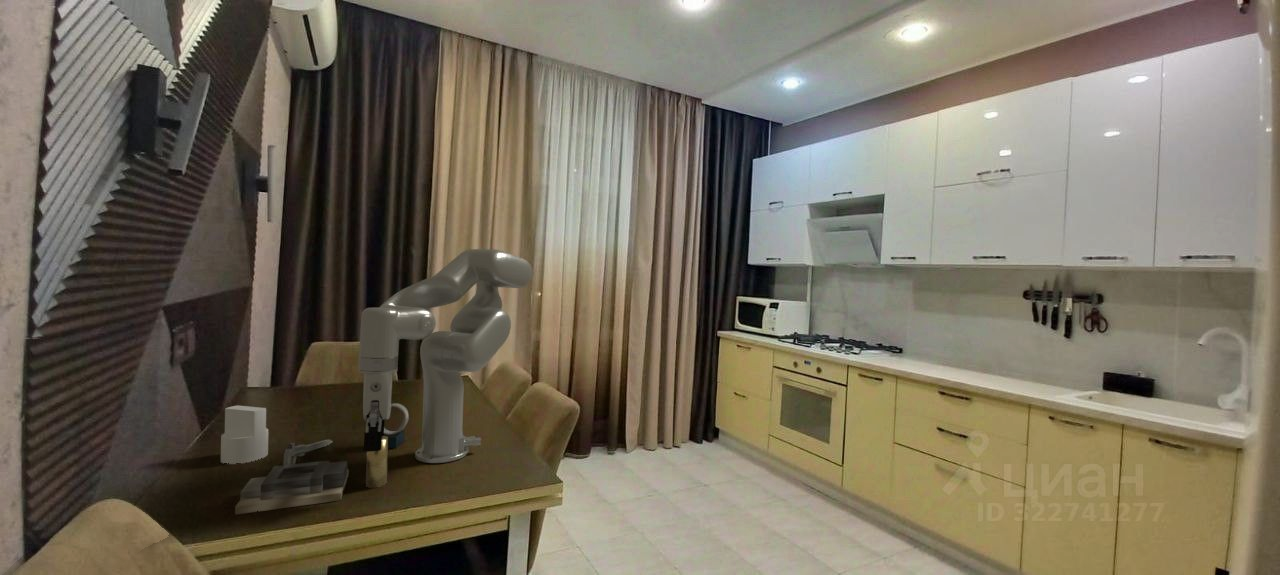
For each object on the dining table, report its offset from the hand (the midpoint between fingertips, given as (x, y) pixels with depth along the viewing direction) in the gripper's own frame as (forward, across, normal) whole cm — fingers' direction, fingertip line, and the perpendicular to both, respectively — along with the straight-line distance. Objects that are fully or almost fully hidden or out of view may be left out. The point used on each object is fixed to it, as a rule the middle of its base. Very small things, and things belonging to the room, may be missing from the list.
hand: (374, 443), depth 106 cm
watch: (+9, +27, -3) cm, 28 cm away
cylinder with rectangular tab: (+9, +29, +29) cm, 42 cm away
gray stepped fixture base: (+9, +1, +14) cm, 17 cm away
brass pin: (+9, +1, -1) cm, 9 cm away
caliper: (+9, +25, +15) cm, 31 cm away
